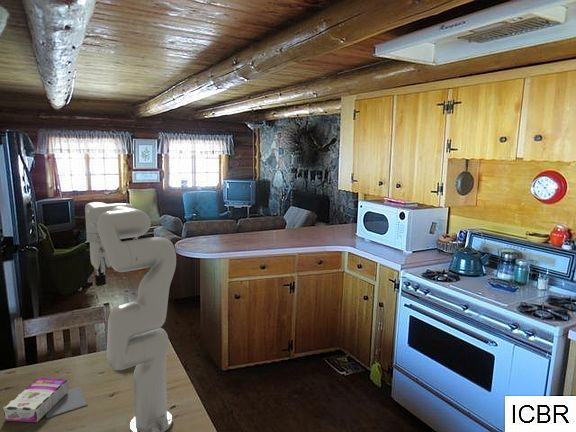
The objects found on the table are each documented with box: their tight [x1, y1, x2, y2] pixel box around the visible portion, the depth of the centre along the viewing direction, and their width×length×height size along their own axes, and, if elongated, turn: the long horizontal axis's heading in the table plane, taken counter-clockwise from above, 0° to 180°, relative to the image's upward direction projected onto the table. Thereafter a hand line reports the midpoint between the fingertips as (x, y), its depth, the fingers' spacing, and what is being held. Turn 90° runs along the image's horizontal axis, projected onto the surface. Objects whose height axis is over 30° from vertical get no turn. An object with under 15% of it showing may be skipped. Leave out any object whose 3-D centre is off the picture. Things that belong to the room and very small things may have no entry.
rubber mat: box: [44, 386, 88, 419], centre depth 141 cm, size 13×12×1 cm
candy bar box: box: [2, 377, 70, 423], centre depth 138 cm, size 11×5×16 cm
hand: (100, 284), depth 154 cm, fingers closed
